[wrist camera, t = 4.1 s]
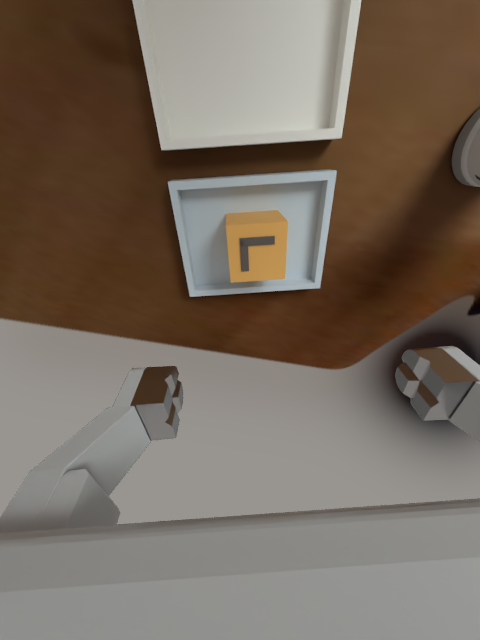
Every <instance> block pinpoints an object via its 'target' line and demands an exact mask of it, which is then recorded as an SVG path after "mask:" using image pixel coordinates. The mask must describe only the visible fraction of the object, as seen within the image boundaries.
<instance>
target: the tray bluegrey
mask: <svg viewBox="0 0 480 640" xmlns="http://www.w3.org/2000/svg"><path fill="white" fill-rule="evenodd" d="M336 173H337V171H336V170H314V171H300V172H285V173H270V174H255V175H240V176H225V177H210V178H195V179H180V180H171V181H169V182H168V187H169V192H170V197H171V202H172V207H173V213H174V218H175V223H176V228H177V233H178V238H179V243H180V249H181V254H182V259H183V264H184V269H185V274H186V280H187V285H188V290H189V295H190V297H196V296H211V295H226V294H240V293H255V292H269V291H284V290H299V289H313V288H320V285H321V278H322V271H323V264H324V257H325V250H326V243H327V236H328V229H329V222H330V215H331V208H332V201H333V194H334V187H335V180H336ZM270 210H278V211H279V212H280V213H281V214H282V215H283V216H284V217H285V219H286V220H287V221H288V234H287V253H286V271H285V279H277V280H263V281H248V282H233V283H231V281H230V269H229V258H228V246H227V234H226V213H240V212H255V211H270Z"/></svg>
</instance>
